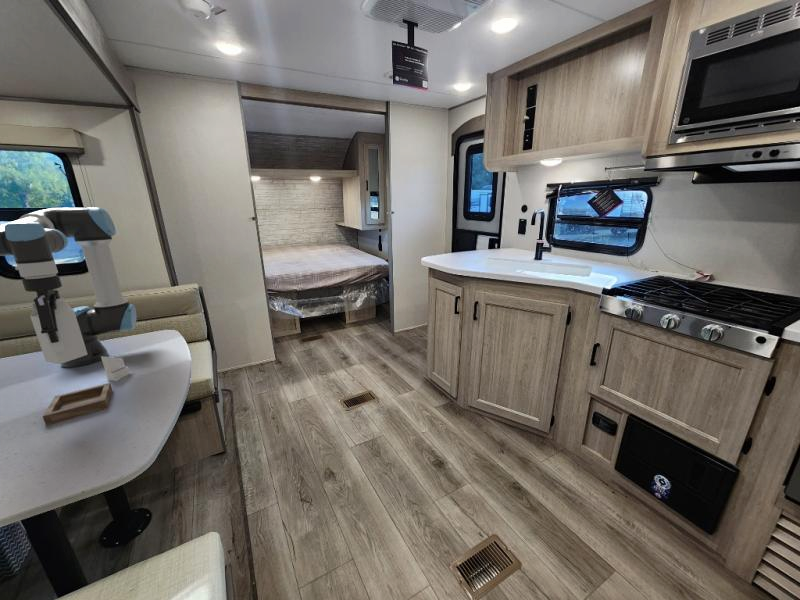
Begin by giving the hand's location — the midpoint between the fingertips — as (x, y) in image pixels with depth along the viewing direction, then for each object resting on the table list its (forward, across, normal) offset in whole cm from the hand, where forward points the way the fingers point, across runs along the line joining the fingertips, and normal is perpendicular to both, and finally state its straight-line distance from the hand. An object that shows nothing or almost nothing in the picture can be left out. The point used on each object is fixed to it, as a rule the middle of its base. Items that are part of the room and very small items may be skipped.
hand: (63, 346), depth 100 cm
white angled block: (+22, -19, +8) cm, 30 cm away
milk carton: (+4, 0, 0) cm, 4 cm away
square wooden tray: (+21, 0, 0) cm, 21 cm away
